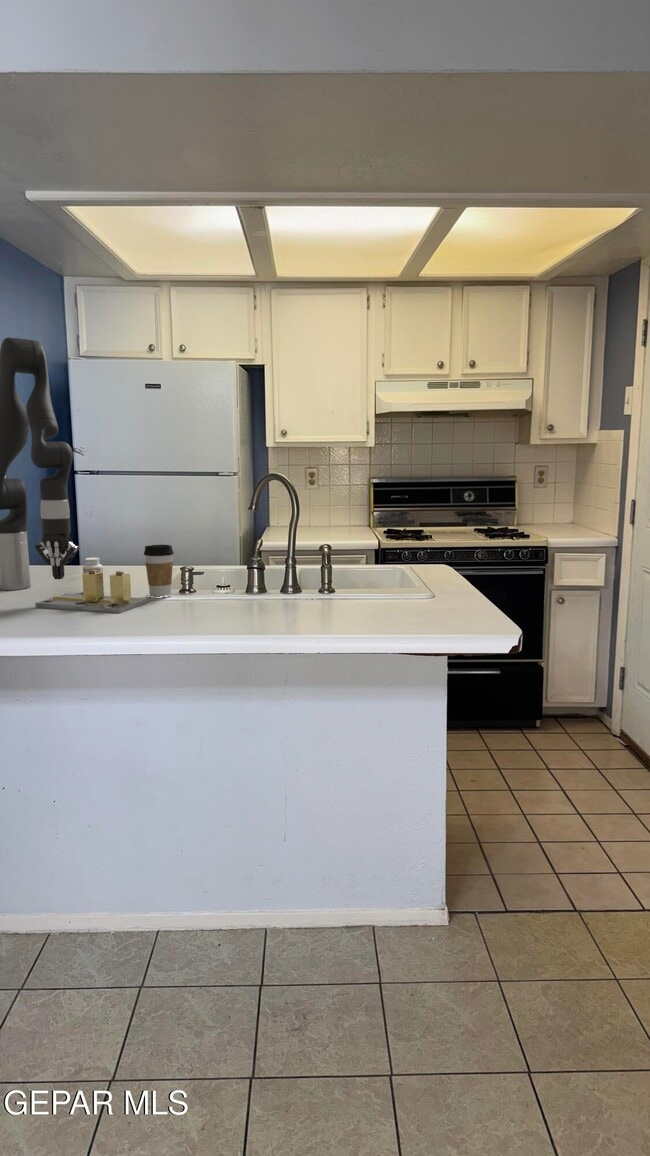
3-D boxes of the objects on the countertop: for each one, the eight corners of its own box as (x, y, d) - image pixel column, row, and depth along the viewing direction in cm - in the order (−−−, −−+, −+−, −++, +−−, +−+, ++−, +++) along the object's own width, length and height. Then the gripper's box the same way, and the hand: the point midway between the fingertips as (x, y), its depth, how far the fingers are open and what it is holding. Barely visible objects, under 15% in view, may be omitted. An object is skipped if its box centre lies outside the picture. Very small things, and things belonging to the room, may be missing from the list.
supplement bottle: (92, 590, 232) (90, 556, 230) (107, 591, 230) (105, 557, 228) (80, 593, 227) (78, 559, 225) (96, 594, 225) (94, 560, 223)
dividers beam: (44, 601, 209) (42, 571, 208) (58, 597, 215) (56, 567, 214) (121, 606, 202) (120, 575, 201) (134, 601, 208) (133, 571, 207)
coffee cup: (140, 598, 219) (137, 546, 216) (153, 593, 227) (151, 542, 224) (167, 599, 217) (165, 547, 214) (180, 594, 225) (178, 543, 222)
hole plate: (35, 607, 207) (35, 602, 207) (67, 597, 221) (66, 593, 220) (120, 613, 200) (120, 608, 200) (147, 602, 213) (147, 598, 213)
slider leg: (77, 602, 206) (75, 572, 205) (91, 598, 212) (89, 569, 211) (90, 603, 205) (88, 573, 204) (104, 598, 211) (102, 569, 210)
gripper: (25, 516, 207) (29, 579, 210) (67, 518, 204) (71, 582, 207) (43, 514, 214) (46, 575, 218) (84, 515, 211) (87, 578, 214)
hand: (58, 578), depth 212 cm, fingers closed
